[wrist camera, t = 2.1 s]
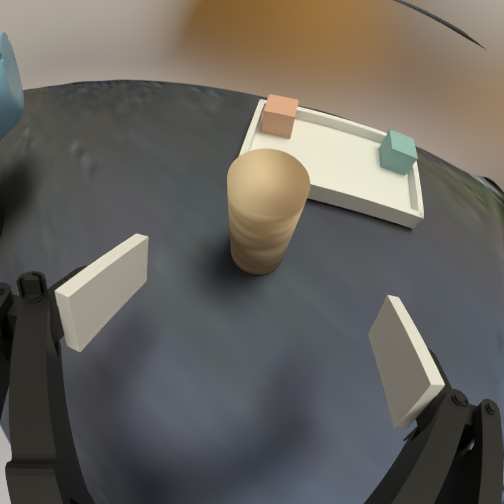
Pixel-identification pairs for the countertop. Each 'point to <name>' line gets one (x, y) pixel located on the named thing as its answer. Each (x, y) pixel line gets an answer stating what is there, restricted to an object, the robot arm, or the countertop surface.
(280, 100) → the terracotta block
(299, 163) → the turned wooden pepper mill
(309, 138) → the parts tray
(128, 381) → the countertop surface
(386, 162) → the teal block
